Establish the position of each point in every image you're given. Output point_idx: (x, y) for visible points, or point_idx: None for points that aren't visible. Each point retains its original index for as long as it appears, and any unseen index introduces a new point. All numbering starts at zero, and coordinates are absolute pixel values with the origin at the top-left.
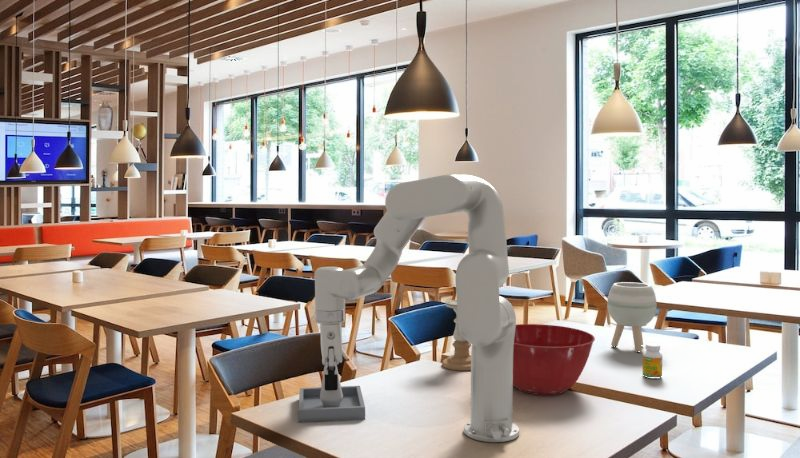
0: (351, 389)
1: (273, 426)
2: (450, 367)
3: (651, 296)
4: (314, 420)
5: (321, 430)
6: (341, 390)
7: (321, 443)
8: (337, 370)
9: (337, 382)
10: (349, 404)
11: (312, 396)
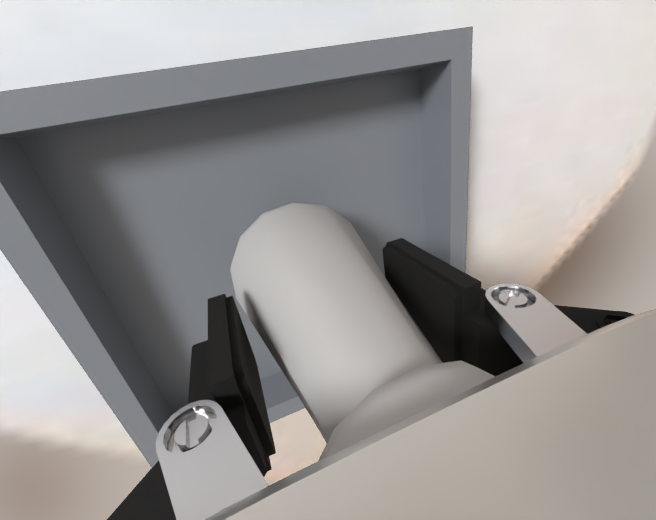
0: (12, 182)
1: None
2: None
3: None
4: None
5: (506, 220)
6: (312, 221)
7: (592, 193)
8: (349, 327)
9: (431, 254)
10: (254, 158)
11: (155, 383)
